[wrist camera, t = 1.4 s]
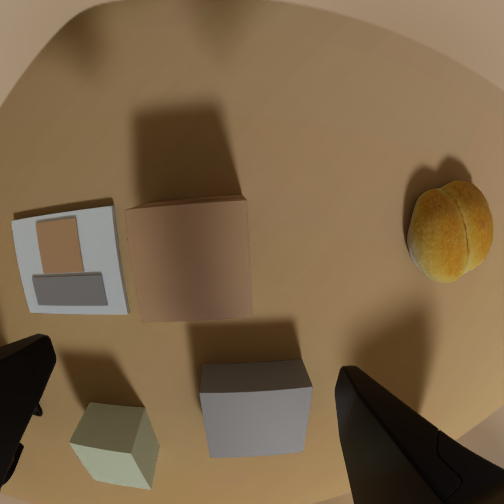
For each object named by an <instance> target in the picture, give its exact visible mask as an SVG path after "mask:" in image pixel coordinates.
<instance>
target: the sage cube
mask: <svg viewBox="0 0 504 504" xmlns="http://www.w3.org/2000/svg"><path fill="white" fill-rule="evenodd" d="M69 444H70V445H71V447H72V448H73V450H74V451H75V453H76V455H77V456H78V458H79V459H80V461H81V462H82V463H83V465H84V466H85V468H86V469H87V471H88V472H89V473H90V475H91V476H92V478H93V479H94V480H97V481H101V482H106V483H111V484H117V485H123V486H129V487H135V488H143V489H151V487H152V482H153V477H154V472H155V467H156V462H157V457H158V452H159V447H160V446H159V443H158V441H157V438H156V436H155V433H154V431H153V428H152V425H151V422H150V420H149V417H148V414H147V411H146V408H145V407H131V406H119V405H109V404H100V403H92V402H90V403H89V405H88V407H87V409H86V410H85V412H84V414H83V416H82V418H81V420H80V422H79V424H78V426H77V428H76V430H75V432H74V434H73V436H72V438H71V440H70V442H69Z"/></svg>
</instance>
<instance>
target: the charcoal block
mask: <svg viewBox="0 0 504 504" xmlns="http://www.w3.org/2000/svg"><path fill="white" fill-rule="evenodd" d="M312 389H313V386H312V383H311V381H310V378H309V376H308V373H307V371H306V368H305V366H304V363H303V360H302V359H297V360H284V361H270V362H252V363H222V364H203V367H202V375H201V383H200V392H199V394H200V401H201V407H202V413H203V420H204V426H205V431H206V437H207V443H208V448H209V454H210V457H212V458H220V457H252V456H267V455H278V454H288V453H296V452H303V447H304V441H305V436H306V429H307V423H308V417H309V410H310V403H311V396H312Z"/></svg>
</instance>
